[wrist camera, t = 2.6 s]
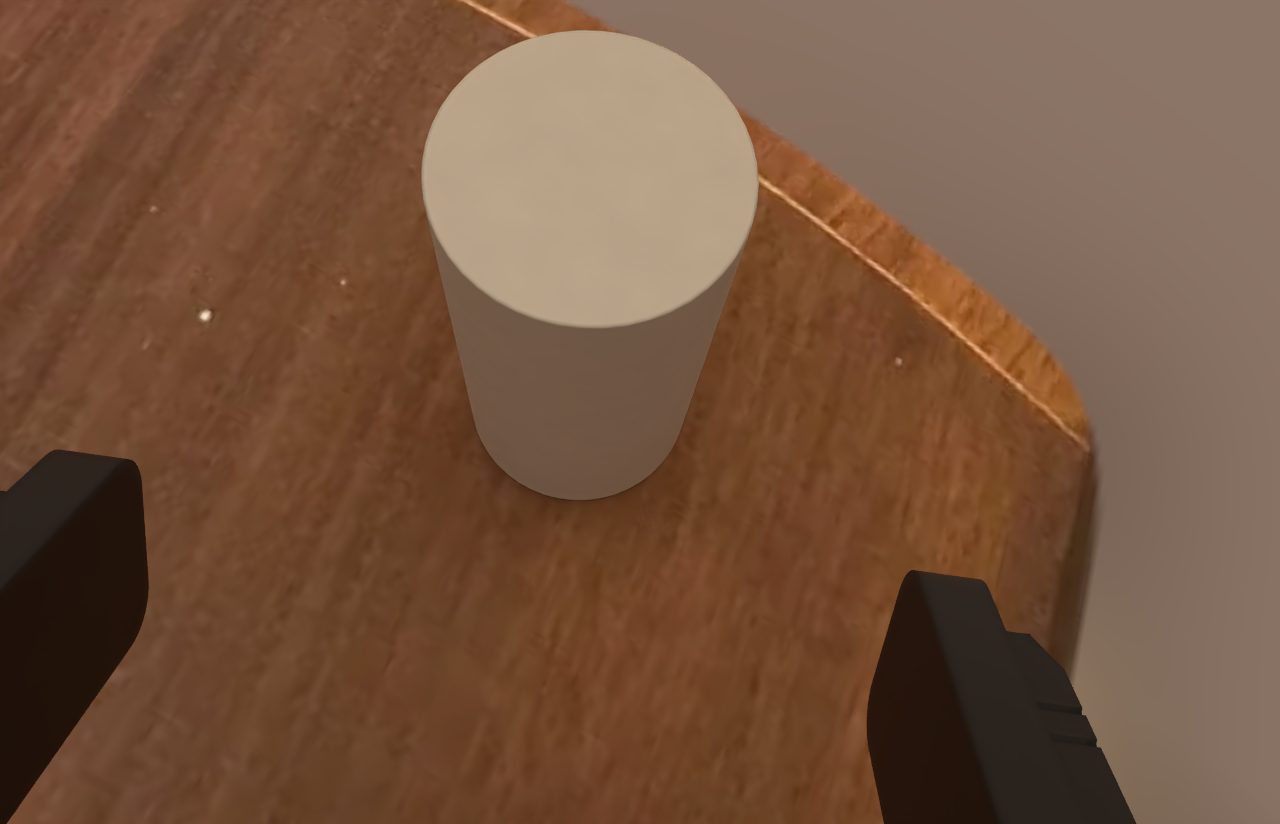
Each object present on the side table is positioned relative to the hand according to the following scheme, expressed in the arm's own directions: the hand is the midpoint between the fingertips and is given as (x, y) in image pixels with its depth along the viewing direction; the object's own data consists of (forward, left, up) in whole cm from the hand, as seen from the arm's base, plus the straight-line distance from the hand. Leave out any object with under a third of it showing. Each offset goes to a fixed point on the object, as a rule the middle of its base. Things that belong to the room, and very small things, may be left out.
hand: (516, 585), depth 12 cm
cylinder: (+1, -6, -10) cm, 12 cm away
